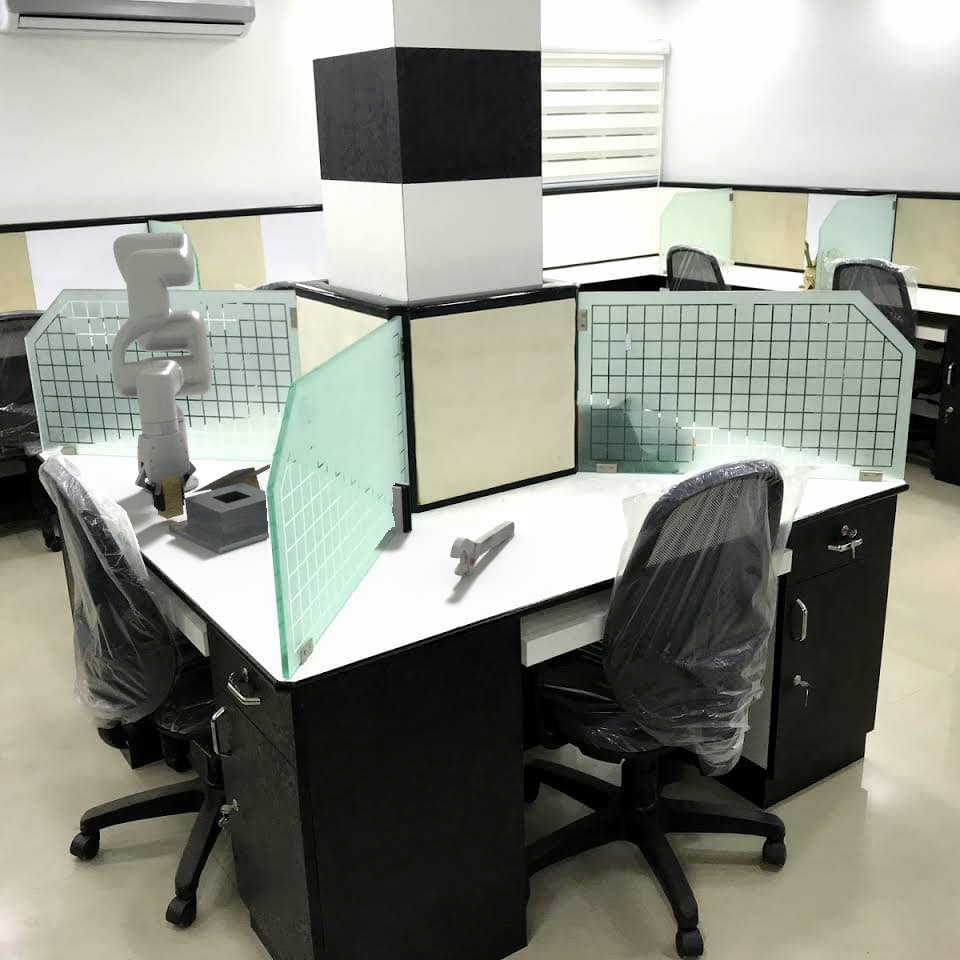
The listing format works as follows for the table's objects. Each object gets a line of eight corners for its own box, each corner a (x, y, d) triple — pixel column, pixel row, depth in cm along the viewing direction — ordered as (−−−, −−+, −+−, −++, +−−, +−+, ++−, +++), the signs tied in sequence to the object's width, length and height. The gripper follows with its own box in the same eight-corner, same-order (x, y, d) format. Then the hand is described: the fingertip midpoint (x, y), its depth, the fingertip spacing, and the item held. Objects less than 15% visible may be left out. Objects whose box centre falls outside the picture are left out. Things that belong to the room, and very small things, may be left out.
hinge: (346, 529, 212) (343, 484, 209) (356, 520, 217) (353, 476, 214) (408, 534, 208) (406, 488, 205) (416, 525, 213) (414, 480, 210)
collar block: (168, 530, 213) (164, 498, 211) (248, 506, 227) (245, 476, 224) (219, 553, 200) (215, 520, 198) (300, 527, 213) (298, 495, 211)
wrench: (514, 546, 209) (458, 585, 181) (506, 545, 209) (449, 584, 182) (515, 509, 207) (459, 543, 180) (507, 508, 208) (449, 541, 180)
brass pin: (157, 514, 218) (152, 471, 215) (174, 509, 221) (169, 466, 218) (167, 519, 216) (161, 475, 212) (183, 514, 218) (178, 470, 215)
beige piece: (206, 524, 228) (244, 488, 221) (188, 492, 230) (225, 456, 222) (256, 513, 242) (293, 479, 235) (239, 484, 244) (275, 449, 237)
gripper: (186, 415, 220) (195, 493, 226) (114, 431, 208) (125, 513, 215) (204, 421, 215) (212, 501, 221) (131, 439, 203) (143, 522, 210)
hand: (169, 506), depth 218 cm, fingers closed on brass pin, 4 cm apart
